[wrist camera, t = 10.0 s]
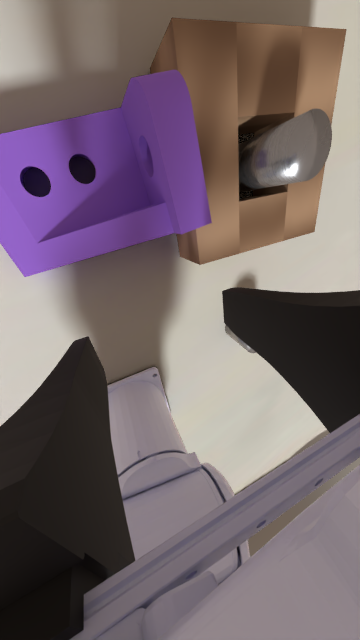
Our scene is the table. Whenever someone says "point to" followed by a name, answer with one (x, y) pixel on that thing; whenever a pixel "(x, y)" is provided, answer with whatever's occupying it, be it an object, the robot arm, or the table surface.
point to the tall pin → (285, 152)
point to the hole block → (249, 121)
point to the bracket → (105, 178)
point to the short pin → (238, 340)
